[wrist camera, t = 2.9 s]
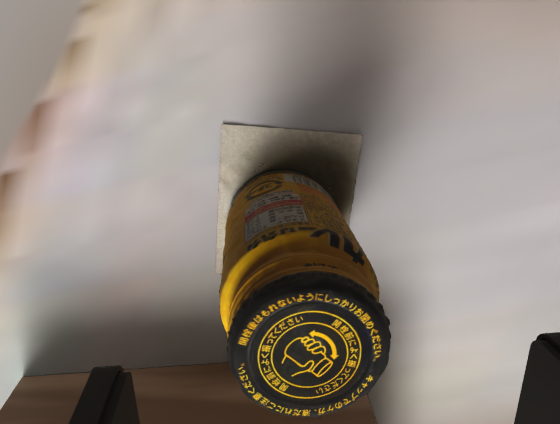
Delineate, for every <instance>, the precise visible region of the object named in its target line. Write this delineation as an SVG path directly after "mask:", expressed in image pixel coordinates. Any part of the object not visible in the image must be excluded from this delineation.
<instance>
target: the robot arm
mask: <svg viewBox="0 0 560 424" xmlns="http://www.w3.org/2000/svg"><path fill="white" fill-rule="evenodd" d="M69 424H140V421H139V415H138V409H137V403H136V397H135V391H134V386H133V380H132V375H131V372H123V368H122V367H121V366H106V367H95V368H93V370H92V371H91V373H90V376H89V378H88V380H87V383H86V385H85V387H84V389H83V392H82V394H81V396H80V399H79V401H78V403H77V405H76V408H75V410H74V412H73V415H72V417H71V419H70V422H69ZM514 424H560V332H558V333H544V334H540V335H539V336H538V337H537V339H536V341H533V342H532V343H531V346H530V351H529V356H528V360H527V365H526V370H525V375H524V379H523V384H522V389H521V393H520V398H519V403H518V408H517V412H516V417H515V422H514Z"/></svg>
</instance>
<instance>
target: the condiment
mask: <svg viewBox="0 0 560 424" xmlns="http://www.w3.org/2000/svg"><path fill="white" fill-rule="evenodd" d="M361 142H362V135H359V134H346V133H335V132H322V131H311V130H297V129H284V128H266V127H255V126H239V125H225V124H222V132H221V155H220V179H219V204H218V228H217V252H216V274H222V279H221V286H220V290H219V293H220V315H221V319H222V322H223V325H224V328H225V330H226V332H227V337H228V340H227V341H228V347H227V356H228V359H229V363H230V367H231V371H232V373H233V375H234V376H235V378H236V379H237V380H238V382H239V384H240V386H241V389H242V392H243V393H244V394H245V395H246V396H247V397H248V398H249V399H251V400H252V401H253V402H255V403H256V404H258V405H259V406H261V407H263V408H266V409H268V410H270V411H272V412H275V413H278V414H281V415H287V416H301V417H313V416H314V417H318V418H320V417H322V416H323V415H325V414H327V413H332V412H336V411H339V410H342V409H344V408H346V407H347V406H349V405H351V404H352V403H354V402H356V401H357V400H358V399H359V398H361V397H363V396H365V395H366V394H367V393H368V392H369V391H370V389H371V388H372V387H373V386H374V385H375V383H376V382H377V380H378V379H379V377H380V376H381V375H382V373H383V372H384V370H385V368H386V366H387V364H388V359H389V350H390V339H391V334H390V331H389V325H390V321H389V319H388V318H387V317H386V316H385V313H384V310H383V306H382V305H381V304H380V303H379V285H378V281H377V277H376V275H375V272H374V270H373V268H372V266H371V264H370V262H369V260H368V258H367V257H366V255H365V253H364V251H363V250H362V248H361V246H360V245H359V243H358V242H357V240H356V238H355V236H354V234H353V233H352V231H351V230H350V228H349V220H350V214H351V209H352V208H351V207H352V203H353V197H354V188H355V182H356V174H357V167H358V162H359V156H360V150H361ZM263 163H264V164H263ZM261 164H263V165H262V166H260V165H261ZM256 170H258V172H256ZM329 188H330V189H329Z"/></svg>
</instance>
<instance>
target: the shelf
mask: <svg viewBox="0 0 560 424" xmlns="http://www.w3.org/2000/svg"><path fill="white" fill-rule="evenodd" d="M123 372H131V375H132V380H133V386H134V391H135V397H136V403H137V409H138V415H139V421H140V424H377V421H376V419H375V416H374V413H373V410H372V408H371V405H370V402H369V399H368V396H367V394H366V395H365V396H363V397H361V398H359V399H358V400H357V401H356V402H354V403H352V404H351V405H349V406H347V407H346V408H344V409H342V410H339V411H336V412H332V413H327V414H325V415H323V416H322V417H320V418H318V417H314V416H313V417H301V416H287V415H281V414H278V413H275V412H272V411H270V410H268V409H266V408H263V407H261V406H259V405H258V404H256V403H255V402H253V401H252V400H251V399H249V398H248V397H247V396H246V395H245V394H244V393H243V392H242V389H241V386H240V384H239V382H238V380H237V379H236V378H235V376H234V375H233V373H232V371H231V367H230V363H229V362H228V363H214V364H200V365H186V366H172V367H157V368H143V369H129V370H123ZM90 373H91V372H86V373H72V374H58V375H44V376H30V377H22V378H21V380H20V381H19V383H18V384H17V386H16V387H15V389H14V390H13V392H12V393H11V395H10V396H9V398H8V399H7V401H6V402H5V404H4V405H3V407H2V408H1V410H0V424H69V422H70V419H71V417H72V415H73V412H74V410H75V408H76V405H77V403H78V401H79V399H80V396H81V394H82V392H83V389H84V387H85V385H86V383H87V380H88V378H89V376H90Z"/></svg>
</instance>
